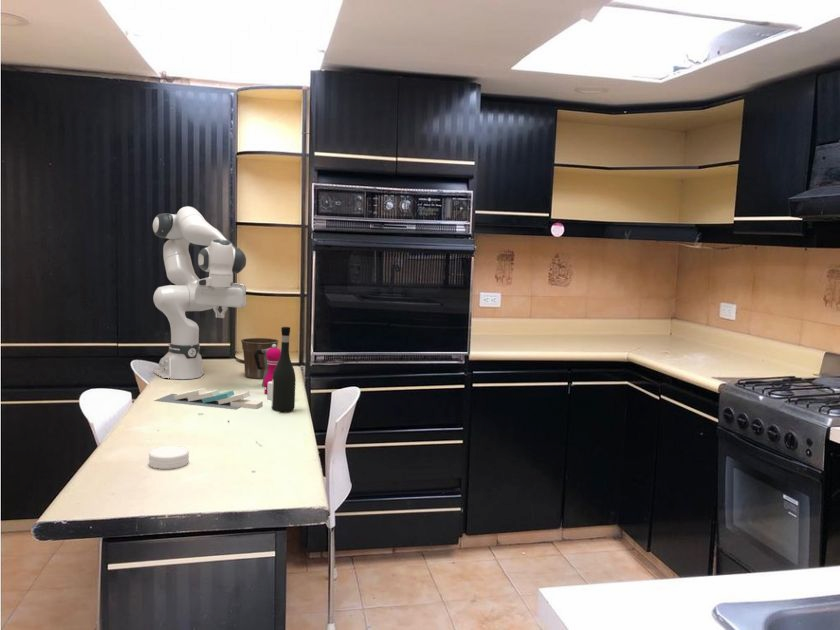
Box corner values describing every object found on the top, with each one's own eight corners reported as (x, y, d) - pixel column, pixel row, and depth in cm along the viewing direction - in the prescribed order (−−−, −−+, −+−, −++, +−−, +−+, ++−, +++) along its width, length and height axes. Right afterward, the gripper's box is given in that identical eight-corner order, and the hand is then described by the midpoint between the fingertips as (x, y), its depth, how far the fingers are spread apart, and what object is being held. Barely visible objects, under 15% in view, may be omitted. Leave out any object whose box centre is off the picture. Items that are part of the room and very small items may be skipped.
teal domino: (201, 398, 241) (226, 393, 239) (208, 396, 246) (232, 390, 244) (202, 403, 241) (227, 397, 239) (209, 400, 246) (234, 394, 244)
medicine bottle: (279, 403, 248) (280, 372, 246) (266, 400, 252) (267, 369, 251) (293, 400, 253) (294, 369, 252) (281, 397, 258) (282, 366, 256)
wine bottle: (266, 410, 237) (269, 326, 234) (281, 406, 244) (284, 325, 241) (284, 414, 234) (287, 329, 230) (298, 409, 241) (302, 327, 237)
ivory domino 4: (230, 401, 239) (256, 404, 237) (236, 398, 244) (262, 401, 242) (230, 406, 239) (256, 408, 237) (236, 403, 244) (262, 405, 242)
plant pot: (237, 373, 298) (237, 337, 296) (273, 372, 305) (274, 337, 303) (243, 380, 284) (244, 343, 282) (281, 379, 290) (282, 342, 289)
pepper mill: (277, 397, 258) (279, 346, 256) (259, 395, 259) (261, 344, 257) (284, 393, 265) (286, 343, 263) (267, 391, 266) (269, 341, 264)
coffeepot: (281, 382, 284) (283, 340, 283) (292, 386, 277) (294, 344, 275) (248, 385, 275) (249, 342, 273) (258, 390, 267) (259, 345, 266)
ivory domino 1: (173, 396, 243) (197, 390, 241) (180, 393, 248) (204, 387, 246) (174, 400, 243) (199, 394, 241) (182, 397, 248) (205, 391, 246)
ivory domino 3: (217, 400, 240) (242, 394, 238) (224, 397, 245) (248, 391, 243) (218, 404, 240) (243, 398, 238) (225, 401, 245) (250, 395, 243)
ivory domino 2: (187, 397, 242) (211, 392, 240) (194, 394, 247) (218, 389, 245) (188, 401, 242) (213, 396, 240) (195, 398, 247) (219, 393, 245)
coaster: (175, 455, 185) (176, 443, 185) (196, 464, 179) (196, 451, 179) (141, 463, 177) (141, 450, 177) (161, 473, 171) (161, 459, 171)
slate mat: (153, 401, 240) (153, 400, 240) (171, 394, 252) (171, 393, 252) (236, 410, 235) (236, 409, 235) (251, 403, 247) (251, 401, 246)
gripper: (249, 283, 259) (248, 318, 260) (200, 280, 262) (200, 315, 264) (242, 284, 252) (241, 320, 254) (192, 280, 256) (191, 316, 257)
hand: (220, 317), depth 259 cm, fingers closed
